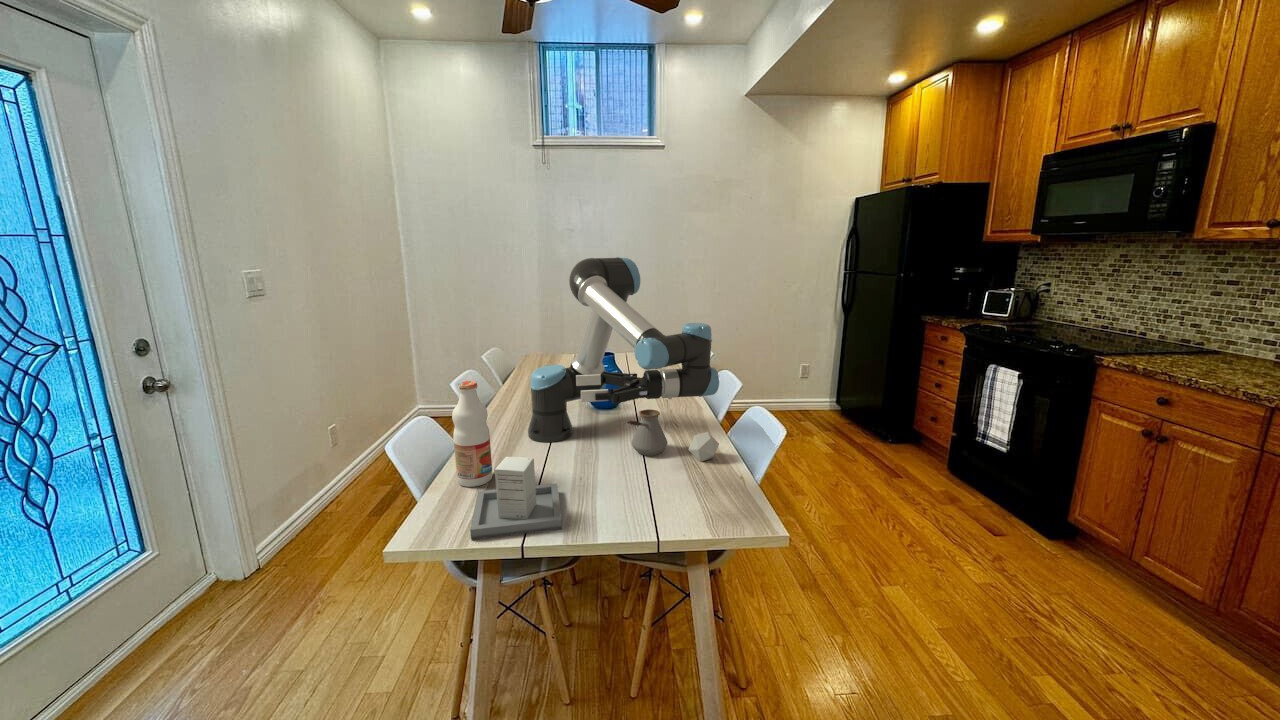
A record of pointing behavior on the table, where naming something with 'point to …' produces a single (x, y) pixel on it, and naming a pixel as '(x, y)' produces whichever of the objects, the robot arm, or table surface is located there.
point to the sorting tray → (539, 520)
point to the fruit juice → (471, 438)
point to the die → (703, 446)
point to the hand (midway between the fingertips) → (578, 388)
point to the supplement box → (515, 487)
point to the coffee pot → (648, 434)
